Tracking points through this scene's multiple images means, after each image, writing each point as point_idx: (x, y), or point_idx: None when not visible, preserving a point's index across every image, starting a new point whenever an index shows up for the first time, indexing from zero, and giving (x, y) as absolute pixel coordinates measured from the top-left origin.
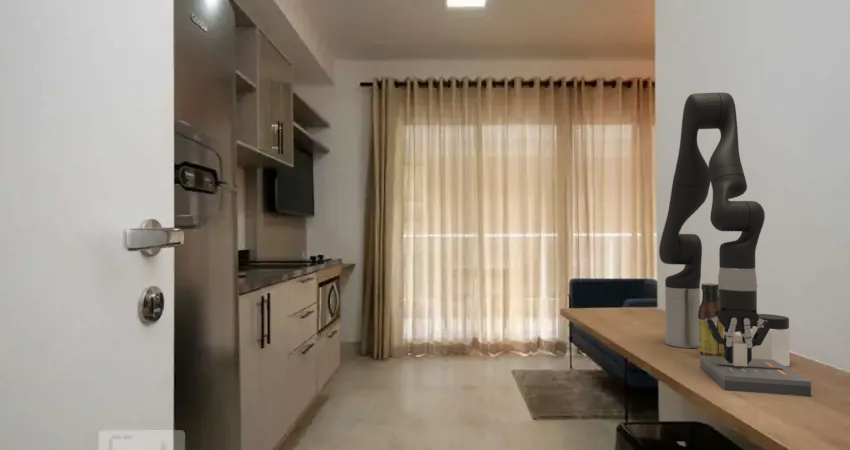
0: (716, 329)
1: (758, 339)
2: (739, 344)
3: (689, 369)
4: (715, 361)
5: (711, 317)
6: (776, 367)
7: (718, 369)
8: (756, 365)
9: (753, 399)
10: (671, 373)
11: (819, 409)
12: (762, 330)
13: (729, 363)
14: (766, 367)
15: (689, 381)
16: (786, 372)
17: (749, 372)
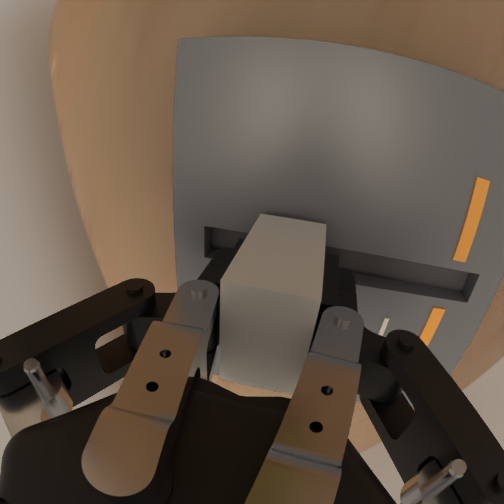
0: (85, 394)
1: (377, 419)
2: (252, 382)
3: (149, 95)
4: (213, 166)
5: (5, 417)
6: (472, 260)
7: None
8: (403, 230)
9: (247, 392)
10: (84, 177)
11: (357, 431)
12: (405, 477)
13: (275, 199)
14: (428, 263)
15: (122, 263)
16: (446, 332)
17: None
